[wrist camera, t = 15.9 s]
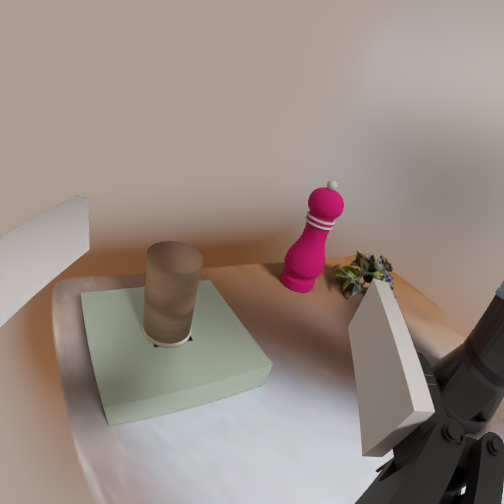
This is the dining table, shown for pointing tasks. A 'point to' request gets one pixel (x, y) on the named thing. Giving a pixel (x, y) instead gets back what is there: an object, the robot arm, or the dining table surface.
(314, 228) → the pepper mill
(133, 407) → the sage board
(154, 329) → the walnut peg
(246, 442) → the dining table surface
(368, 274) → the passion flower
